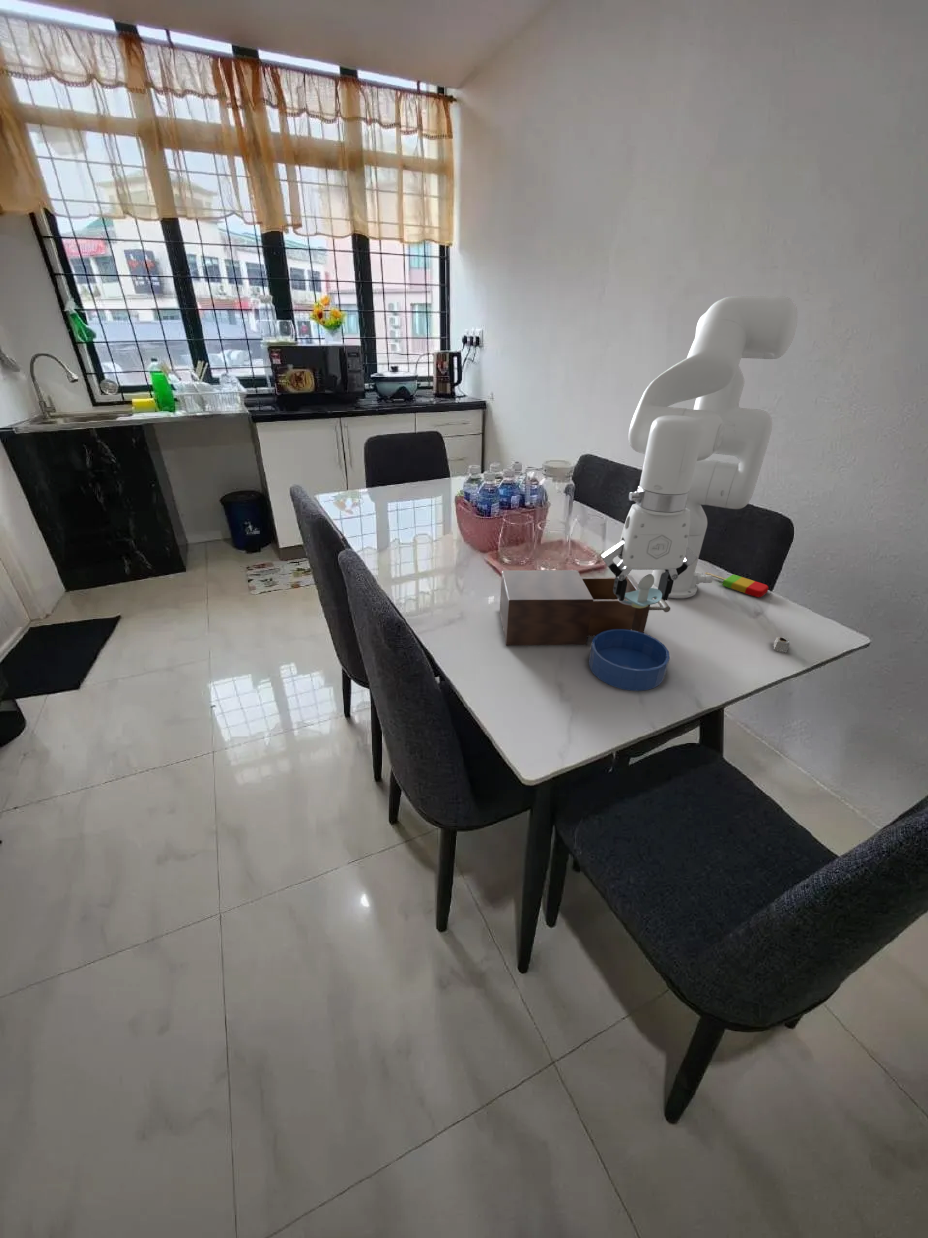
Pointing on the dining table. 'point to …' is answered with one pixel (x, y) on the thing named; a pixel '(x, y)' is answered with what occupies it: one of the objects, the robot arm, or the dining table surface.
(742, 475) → the robot arm
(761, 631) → the dining table surface
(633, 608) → the drawer
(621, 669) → the bowl
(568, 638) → the cabinet
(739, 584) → the popsicle
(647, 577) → the pacifier
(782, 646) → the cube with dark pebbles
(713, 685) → the dining table surface
